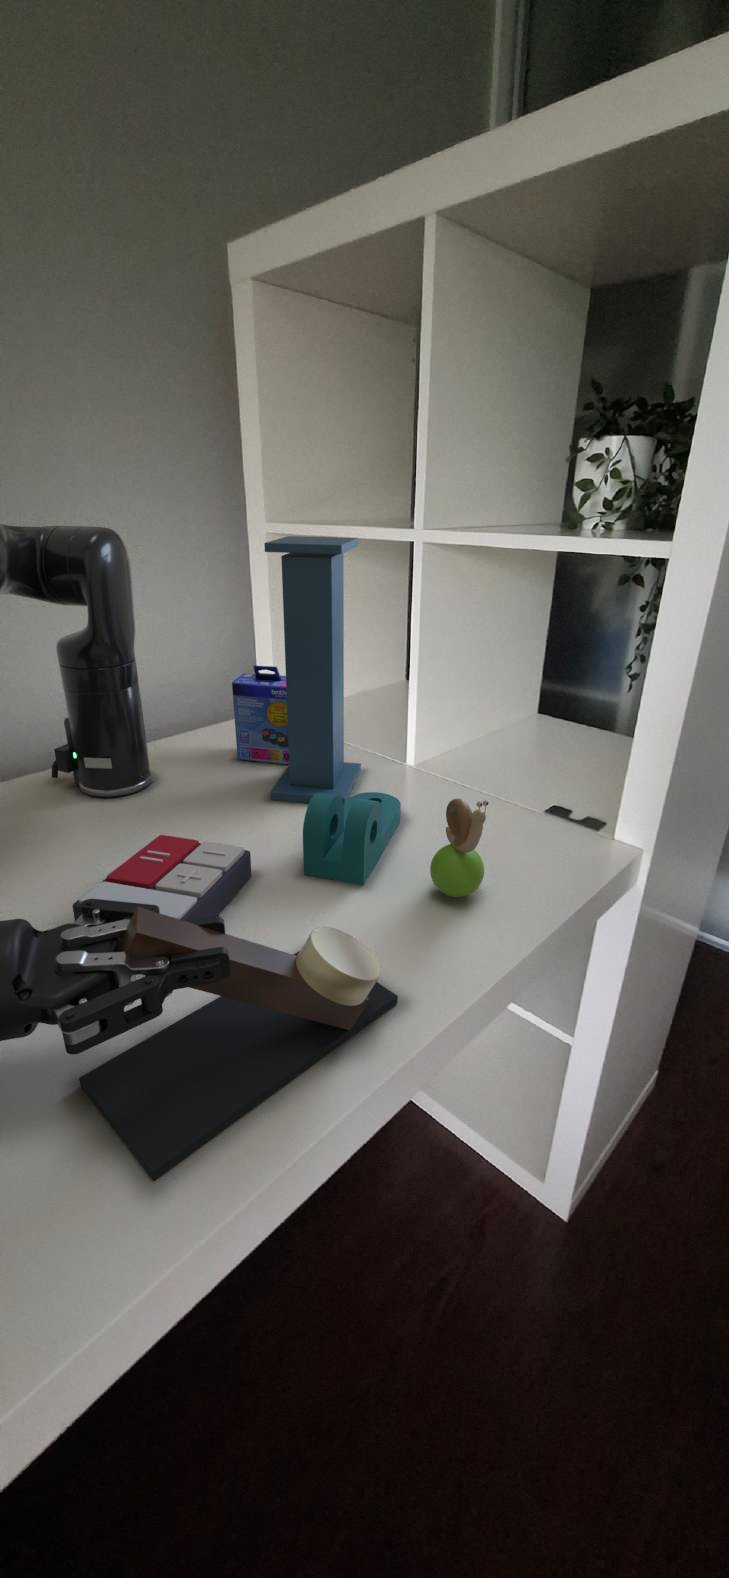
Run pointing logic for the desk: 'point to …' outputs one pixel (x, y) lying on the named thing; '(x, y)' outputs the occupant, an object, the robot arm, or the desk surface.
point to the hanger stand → (314, 667)
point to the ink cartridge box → (261, 716)
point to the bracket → (347, 834)
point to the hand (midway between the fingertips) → (225, 946)
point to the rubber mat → (210, 1073)
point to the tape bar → (270, 967)
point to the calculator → (177, 878)
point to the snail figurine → (460, 851)
